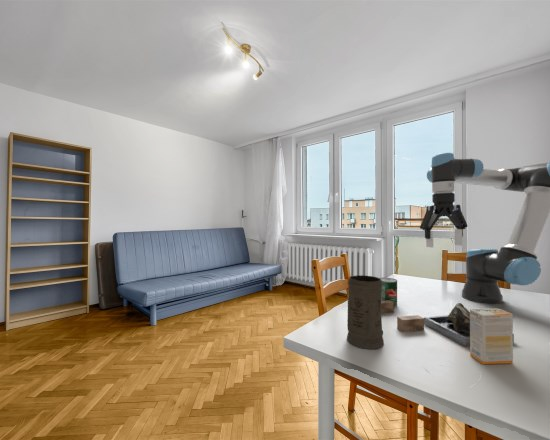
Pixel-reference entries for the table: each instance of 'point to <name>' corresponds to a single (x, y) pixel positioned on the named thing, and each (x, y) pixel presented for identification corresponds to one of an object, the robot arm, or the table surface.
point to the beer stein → (365, 312)
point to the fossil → (459, 318)
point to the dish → (448, 329)
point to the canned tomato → (389, 290)
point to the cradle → (403, 318)
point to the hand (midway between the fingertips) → (444, 246)
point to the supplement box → (491, 336)
